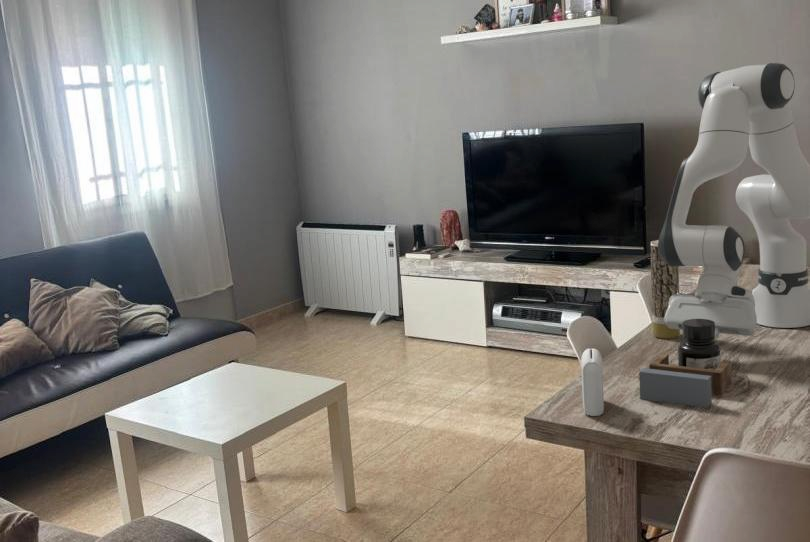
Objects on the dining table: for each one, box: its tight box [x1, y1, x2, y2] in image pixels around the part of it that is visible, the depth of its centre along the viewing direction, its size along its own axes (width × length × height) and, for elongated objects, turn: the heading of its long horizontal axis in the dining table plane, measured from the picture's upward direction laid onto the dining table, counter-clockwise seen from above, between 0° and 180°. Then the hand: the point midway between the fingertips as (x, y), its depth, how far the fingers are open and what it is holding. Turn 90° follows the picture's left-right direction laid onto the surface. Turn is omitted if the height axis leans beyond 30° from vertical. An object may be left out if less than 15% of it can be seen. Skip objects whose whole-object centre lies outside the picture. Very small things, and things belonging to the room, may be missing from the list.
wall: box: [638, 367, 713, 409], centre depth 170 cm, size 2×14×6 cm, turn 55°
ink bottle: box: [677, 319, 721, 370], centre depth 184 cm, size 10×9×12 cm
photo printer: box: [580, 348, 605, 417], centre depth 170 cm, size 10×4×12 cm, turn 168°
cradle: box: [648, 353, 732, 396], centre depth 179 cm, size 8×15×5 cm, turn 55°
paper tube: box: [650, 239, 681, 340], centre depth 213 cm, size 7×7×25 cm
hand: (703, 346), depth 188 cm, fingers closed, pressing on ink bottle
